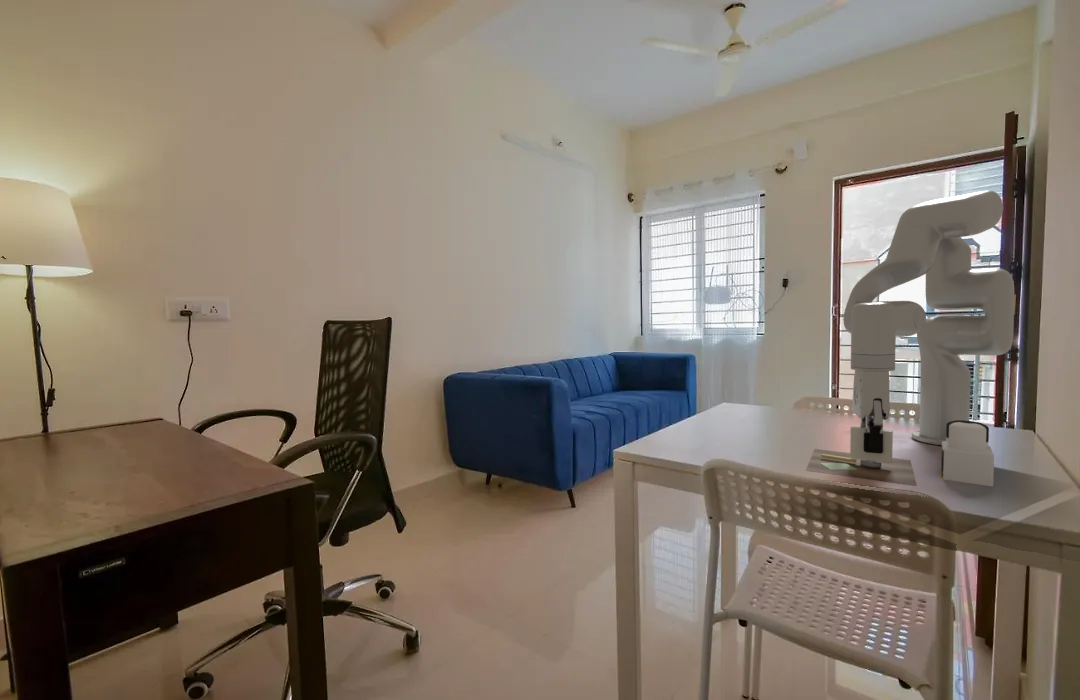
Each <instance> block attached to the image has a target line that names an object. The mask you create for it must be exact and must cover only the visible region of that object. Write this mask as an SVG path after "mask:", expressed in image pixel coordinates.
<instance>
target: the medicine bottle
mask: <svg viewBox="0 0 1080 700" xmlns="http://www.w3.org/2000/svg"><path fill="white" fill-rule="evenodd" d="M989 433H990V427H989V426H988V425H986V424H984V423H982V422H979V421H973V420H969V421H965V420H955V421H951V422H948V423H947V424H946V441H943V442H942V445H941V454H940V455H941V459H940V461H941V462H940V463H941V464H940V466H941V467H940V471H941V472H940V473H941V479H942V480H945V481H952V482H959V483H967V484H973V485H978V486H979V485H980V486H985V487H993V486H994V473H995V472H994V471H995V454H994V453H993V450H992V448H991V446H990V445H989V438H990V434H989Z"/></svg>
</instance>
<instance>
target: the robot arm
mask: <svg viewBox="0 0 1080 700" xmlns="http://www.w3.org/2000/svg"><path fill="white" fill-rule="evenodd" d="M1003 211H1004V203H1003V200H1002V198H1001V196H1000V195H999V194H998V193H997V192H996V191H993V190H983V191H976V192H970V193H966V194H961V195H960V194H959V195H956V196H949V197H943V198H938V199H932V200H929V201H924V202H921V203H918V204H915V205H914V206H912V207H909V208H908V209H906V210H905V211H904V212H903V213H902V214H901V216H900V217H899V220H898V222H897V225H896V229H895V231H894V234H893V236H892V240H891V243H890V246H889V248H888V251H887V254H886V258H885V259H884V260H883V261H882V262H880V263H879V264H878V265H876V266H875V267H873V268H872V269H871V270H870V271H868V273H866V274H865V275H864V276H862V278H860V279H859V280H858V281H857V283H856V284H855V285H854V287H853V288H852V290H851V291H850V293H849V296H848V298H847V299H848V300H847V302H846V304H845V305H846V306H845V309H844V313H843V320H842V321H843V326H844V329H845V330H846V331H847V332H848V333H849V334H850V370H852V371H854V374H853V375H854V377H853V387H852V403H851V406H852V407H851V408H852V412H853V413H854V414H855V415H856V416H857V417H858V418H859V419H860V427H866V433H864V451H865V452H868V453H883V429H884V421H886V420H888V419H889V417H890V411H891V410H890V408H891V407H890V406H891V403H890V402H891V399H890V398H891V393H890V392H891V389H890V387H891V385H890V384H891V383H890V372H895V371H896V346H897V345H896V338H897V337H911V336H914V335H916V339H917V344H918V349H919V355H920V356H919V358H920V400H919V430H915V431H913V432H912V433H911V438H913V439H914V440H916V441H919V442H922V443H925V444H930V445H937V446H942V442H943V441H946V424H947V423H948V422H951V421H955V420H965V421H970V411H971V410H970V409H971V406H970V405H971V381H972V379H971V378H972V377H971V376H972V375H971V371H970V369H969V367H968V365H967V364H966V363H965V362H964V361H963V359H961V358H960V357H959V356H960V355H961V356H964V355H965V356H966V355H967V356H968V355H969V356H970V355H971V356H1001V355H1004V354H1006V353H1008V352H1009V351H1010V350H1011V347H1012V345H1013V341H1014V328H1015V327H1014V324H1015V323H1014V322H1015V320H1014V319H1015V317H1014V316H1015V283H1014V279H1013V277H1012V274H1011V273H1010V271H1007V270H1006V269H1005V268H1004V269H1003V268H996V267H990V268H979V269H978V268H977V269H973V268H972V247H970V245H969V244H968V243H967V242H966V241H965V239H964V238H963V237H970V236H975V235H978V234H981V233H984V232H986V231H988V230H990V229H992V228H994V227H995V226H996V225H997V224H998V223H999V222H1000V220H1001V218H1002V216H1003ZM924 275H925V301H926V304H927V306H928V307H929V308H931V309H933V310H940V311H961V310H963V311H965V310H967V311H968V310H970V311H971V310H981V311H982V312H983V313H984V315H983V314H981V315H978V314H977V315H974V314H970V315H964V314H963V315H961V314H960V315H959V314H957V315H953V314H951V315H936V316H930V317H927V314H926V312H925V309H924V307H922V305H920V304H919V303H918V302H915V301H911V300H891V301H890V300H889V301H888V300H887V301H884V300H882V301H874V300H875V299H876V298H877V297H878V296H881V294H883V293H885V292H887V291H888V290H891V289H893V288H896V287H898V286H901V285H904V284H906V283H908V282H911V281H913V280H915V279H918V278H921V277H922V276H924Z"/></svg>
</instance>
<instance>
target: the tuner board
mask: <svg viewBox="0 0 1080 700" xmlns="http://www.w3.org/2000/svg"><path fill="white" fill-rule="evenodd" d="M822 454H827V455H833V456H840V457H847V458H850V452H845V451H837V450H826V449H818V448H814V450H813V452H812V454H811V456H810V460H809V461H808V464H807V467H806V469H805V471H807V472H814V473H821V474H828V475H837V476H840V477H841V476H842V477H850V478H857V479H864V480H871V481H878V482H885V483H886V482H887V483H892V484H898V485H899V484H900V485H908V486H913V487H917V485H918V484H917V483H916V482H917V481H916V477H915V474H914V470H913V469H914V468H913V466H912V461H911V459H908V458H907V459H905V458H897V457H892V463H891V464H890V463H884V462H881V467H880V468H871V467H866V466H863V465H861V464H860V460H862V459H857V458H853V459H856V463H854V462H847V461H841V460H835V459H828V458H822V457H821V455H822Z"/></svg>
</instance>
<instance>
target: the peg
mask: <svg viewBox="0 0 1080 700" xmlns="http://www.w3.org/2000/svg"><path fill="white" fill-rule="evenodd" d="M864 433H866V427H861V426H859V425H858V426H857V425H852V426H851V427H850V441H849V442H850V448H849V449H850V451H849V453H850V458H847V457H840V456H833V455H827V454H822V455H821V457H822V458H828V459H835V460H841V461H847V462H854V463H856V459H853V458H857V459H862V460H860V464H861V465H863V466H866V467H871V468H880V467H881V462H884V463H890V464H891V463H892V458H893V439H894V438H893V437H894V436H893V435H894V430H893V429H884V428H883V453H868V452H865V451H864Z"/></svg>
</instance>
